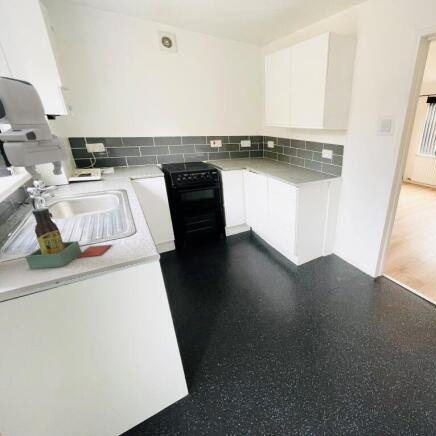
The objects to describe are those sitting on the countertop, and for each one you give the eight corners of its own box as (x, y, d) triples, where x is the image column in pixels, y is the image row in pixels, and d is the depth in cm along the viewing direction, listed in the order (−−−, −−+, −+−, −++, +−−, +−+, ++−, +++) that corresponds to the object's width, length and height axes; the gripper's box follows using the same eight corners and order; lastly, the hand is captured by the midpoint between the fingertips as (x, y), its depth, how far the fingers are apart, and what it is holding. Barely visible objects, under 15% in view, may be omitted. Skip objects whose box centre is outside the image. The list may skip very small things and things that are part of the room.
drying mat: (76, 258, 93) (76, 256, 93) (90, 247, 101) (89, 246, 101) (100, 255, 94) (99, 254, 94) (111, 245, 103) (111, 244, 103)
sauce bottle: (52, 265, 88) (32, 213, 81) (41, 263, 89) (20, 212, 83) (73, 257, 93) (55, 207, 87) (62, 255, 95) (43, 206, 88)
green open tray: (30, 269, 86) (24, 256, 84) (52, 255, 95) (47, 243, 94) (63, 266, 87) (59, 253, 86) (81, 252, 97) (77, 241, 96)
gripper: (47, 134, 88) (59, 172, 93) (-8, 135, 69) (11, 183, 74) (66, 133, 89) (78, 171, 94) (18, 134, 70) (35, 182, 75)
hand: (48, 176), depth 84 cm, fingers open, 8 cm apart
